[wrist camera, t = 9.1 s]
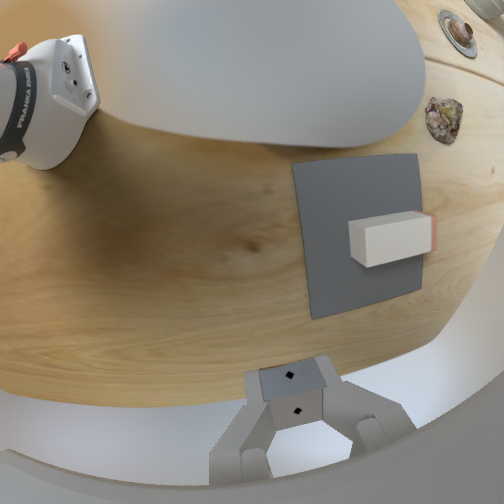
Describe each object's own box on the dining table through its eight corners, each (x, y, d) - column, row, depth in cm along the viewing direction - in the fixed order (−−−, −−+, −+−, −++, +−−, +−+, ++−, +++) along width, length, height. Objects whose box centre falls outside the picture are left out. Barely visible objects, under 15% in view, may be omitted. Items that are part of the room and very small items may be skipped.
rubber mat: (291, 164, 33) (292, 164, 32) (414, 153, 34) (417, 153, 33) (311, 317, 39) (312, 319, 38) (419, 287, 40) (421, 288, 39)
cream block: (364, 228, 30) (436, 215, 30) (348, 221, 35) (415, 209, 35) (366, 267, 32) (435, 249, 32) (350, 256, 36) (416, 241, 37)
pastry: (426, 7, 26) (438, -1, 21) (458, 15, 26) (470, 9, 21) (452, 56, 29) (467, 50, 25) (481, 60, 29) (494, 56, 24)
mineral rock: (448, 155, 32) (434, 110, 28) (428, 150, 36) (413, 108, 32) (473, 128, 31) (461, 87, 27) (455, 124, 35) (443, 85, 31)
